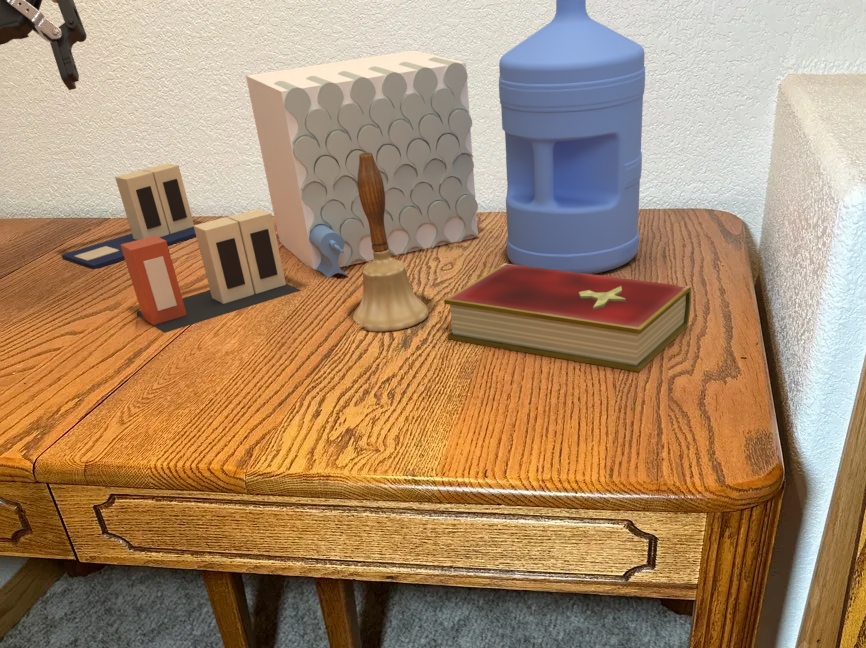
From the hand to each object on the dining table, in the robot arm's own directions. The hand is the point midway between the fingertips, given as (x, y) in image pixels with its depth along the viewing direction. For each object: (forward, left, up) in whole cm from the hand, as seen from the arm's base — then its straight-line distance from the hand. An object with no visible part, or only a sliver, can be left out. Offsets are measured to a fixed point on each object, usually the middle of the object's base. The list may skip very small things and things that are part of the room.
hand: (28, 96), depth 91 cm
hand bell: (+31, -16, -22) cm, 42 cm away
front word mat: (+13, -3, -22) cm, 26 cm away
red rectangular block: (+7, -6, -22) cm, 24 cm away
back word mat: (+3, +28, -22) cm, 35 cm away
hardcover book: (+47, -28, -22) cm, 59 cm away
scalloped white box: (+35, +9, -22) cm, 43 cm away
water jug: (+55, -6, -22) cm, 60 cm away
